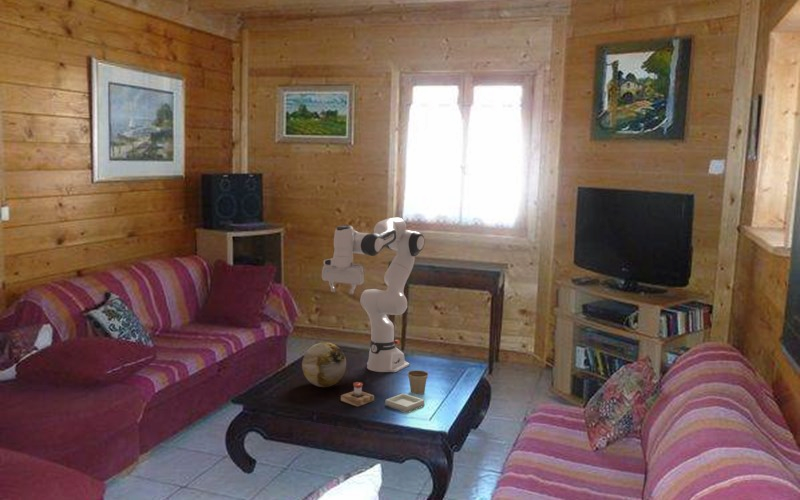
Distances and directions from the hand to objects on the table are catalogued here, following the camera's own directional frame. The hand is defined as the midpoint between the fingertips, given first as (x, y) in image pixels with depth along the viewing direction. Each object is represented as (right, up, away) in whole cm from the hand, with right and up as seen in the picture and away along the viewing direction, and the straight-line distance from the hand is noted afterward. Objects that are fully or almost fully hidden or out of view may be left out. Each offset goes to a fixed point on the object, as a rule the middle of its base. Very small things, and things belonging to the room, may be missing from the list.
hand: (342, 292), depth 303 cm
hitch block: (+8, -45, -14) cm, 48 cm away
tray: (+28, -46, -18) cm, 57 cm away
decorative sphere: (-9, -43, +4) cm, 44 cm away
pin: (+8, -45, -14) cm, 48 cm away
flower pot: (+34, -45, -1) cm, 56 cm away
